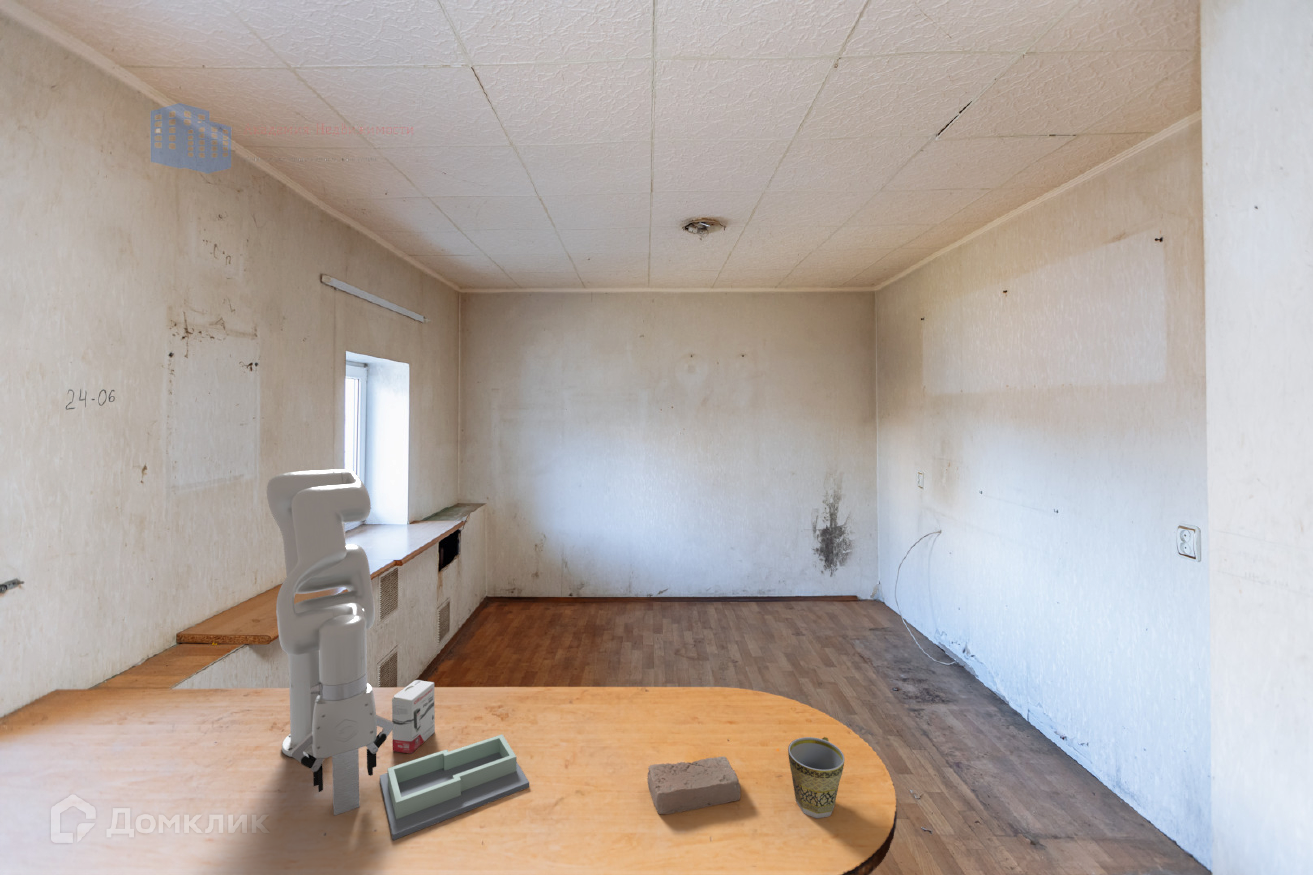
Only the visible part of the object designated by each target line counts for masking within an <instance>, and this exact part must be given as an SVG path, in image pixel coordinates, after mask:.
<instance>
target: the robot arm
mask: <svg viewBox="0 0 1313 875" xmlns="http://www.w3.org/2000/svg"><path fill="white" fill-rule="evenodd" d="M266 499H267V504H268V507H269V510H270V512H271V514H272V517H273V519H274V521H275V522H276V524H277V527H278V529H279V531H280V533H281V536H282V539H283V540H282V541H283V542H282V543H283V551H284V562H285V572H286V574H285V575H286V577H285V579H284V580H283V582H282V584H281V586H280V588H279V591H278V593H277V597H276V603H275V604H276V608H275V609H276V610H275V612H276V620H277V621H276V623H277V633H278V640H279V643H280V647H281V649H282V651H283V652H284V653H285V654H287V656H288V657H287V658H288V679H289V680H288V682H289V685H288V686H289V721H290V723H289V724H290V725H289V726H290V727H289V728H290V732H289V734H288V735H287V736H286V737H285V738H284V740H283V741H282V743H281V750H282V753H283V754H284V755H285V756H288V757H290V758H294V759H295V760H296V761H298V762H299V763H300V764H301V765H302V766H304V767H306V768H308V769H310V770H311V771H312V773H313V774H312V775H313V777H312V778H313V779H312V780H313V782H312V783H313V787H317V786H318V787H317V789H318V791H317V792H318V793H321V792H323V791H324V774H323V773H324V772H323V771H324V769H323V762H324V760H325V759H327V758H330V757H331V758H332V756H334V755H338V754H341V753H345V752H348V751H351V750H355V749H358V750H359V749H361V748H364V747H366V771H367V774H368V776H370V777H371V776H373V775H374V768H376V767H378V766H377V753H378V752H379V750H380V749H379V748H381V747H382V745H383V744H384V743H385V742H386V740H388V736H389V735H390V733H391V732H392V729H393V728H394V724H393V722H392V720H390V719H388V718H385V717H383V716H380V715H378V714H377V709H376V708H377V707H376V700H375V696H374V691H373V687H372V686H371V684H369V683H368V659H367V656H368V653H367V652H368V651H367V650H368V648H367V631H368V630H369V629H371V628H372V627H373V626H374V623H375V619H376V606H375V600H374V599H375V598H374V590H373V585H372V579H371V571H370V564H369V559H368V554H367V552H366V551H365V549H364V548H363V547H362V546H360V545H358V544H346V538H345V533H344V527H343V524H347V523H355V522H356V523H357V522H362V521H366V519H368V517H369V516H370V513H371V509H372V508H371V506H372V504H371V499H370V495H369V491H368V490H367V488H366V485H365V484H364V483H363V481H362V480H361V479H360V477H359V476H358V475H357V474H356V472H355V471H353V470H351V469H345V468H343V469H342V468H340V469H339V468H338V469H337V468H335V469H321V470H320V469H319V470H318V469H317V470H301V471H300V470H299V471H290V472H289V471H288V472H283V473H280V474H277V475H274V476H273V477H271V479H269V480H268V482H267V485H266ZM339 588H345V589H346V590H347V591H345V592H340V593H335V594H329V595H323V596H318V597H317V596H316V597H313V598H308V599H304V600H301V601H298V602H296V603H295V597H296V594H297V595H298V594H299V595H302V594H305V595H306V594H311V593H317V592H318V593H319V592H325V591H329V590H334V589H339ZM378 727H380V728H382V730H381V731H380V732H378Z"/></svg>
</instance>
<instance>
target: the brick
mask: <svg viewBox="0 0 1313 875" xmlns="http://www.w3.org/2000/svg"><path fill="white" fill-rule="evenodd" d="M647 769H648V772H647V778H646V779H647V786H648V790H649V793H650V797H651V798H652V803H653V806H654V807H655V810H656V811H657V813H658V814H659V815H670V814H675V813H682V812H685V811H686V812H687V811H693V810H698V809H703V808H708V807H712V806H717V805H724V804H729V803H731V802H737V801H740V799H741V796H742V795H741V784H740V781H739V778H738V776H737V773H736V771H735V769H733V766H732V765H731V764H730V761H729V760H728V758H727V757H726V756H718V757H708V758H707V757H706V758H703V759H699V760H698V759H697V760H694V761H692V762H685V761H680V762H677V763H669V762H668V763H656V764H655V763H654V764H650V765H649V766H648V768H647Z"/></svg>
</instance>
